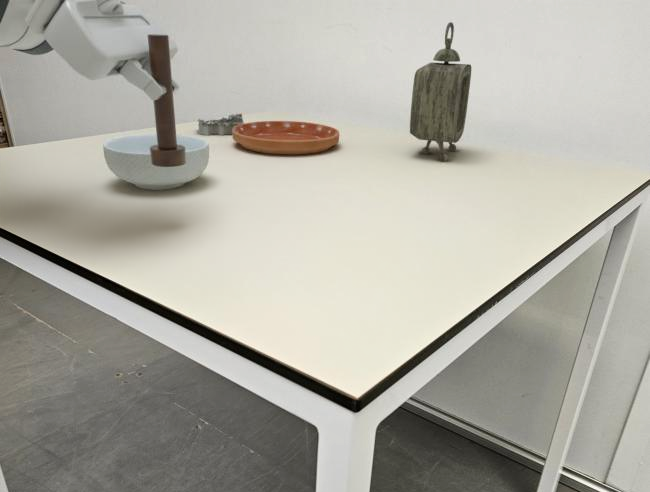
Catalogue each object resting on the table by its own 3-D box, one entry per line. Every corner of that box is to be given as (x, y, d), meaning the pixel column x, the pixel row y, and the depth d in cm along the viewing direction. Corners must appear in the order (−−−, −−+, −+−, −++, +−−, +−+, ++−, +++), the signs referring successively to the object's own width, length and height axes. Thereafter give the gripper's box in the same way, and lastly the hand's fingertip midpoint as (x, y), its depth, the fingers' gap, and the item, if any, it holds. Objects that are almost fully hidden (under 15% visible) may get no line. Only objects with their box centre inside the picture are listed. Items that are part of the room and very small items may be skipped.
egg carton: (244, 131, 146) (244, 113, 144) (243, 137, 139) (243, 118, 137) (199, 130, 145) (198, 112, 143) (196, 136, 138) (195, 117, 136)
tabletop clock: (450, 165, 119) (467, 23, 107) (405, 160, 121) (417, 22, 110) (461, 151, 131) (477, 22, 119) (420, 147, 133) (432, 21, 122)
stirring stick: (159, 168, 75) (147, 35, 68) (145, 161, 78) (132, 33, 71) (191, 164, 78) (183, 36, 71) (177, 157, 81) (167, 33, 74)
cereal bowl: (205, 199, 94) (202, 153, 91) (97, 199, 93) (89, 152, 90) (215, 172, 109) (213, 132, 106) (122, 172, 108) (116, 131, 105)
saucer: (326, 135, 143) (326, 119, 141) (350, 157, 123) (351, 138, 121) (229, 137, 138) (228, 120, 136) (237, 160, 118) (236, 140, 117)
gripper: (112, 20, 81) (185, 101, 84) (14, 22, 64) (111, 125, 67) (139, -17, 79) (214, 68, 82) (44, -25, 61) (145, 84, 64)
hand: (167, 94), depth 74 cm, fingers closed on stirring stick, 2 cm apart
